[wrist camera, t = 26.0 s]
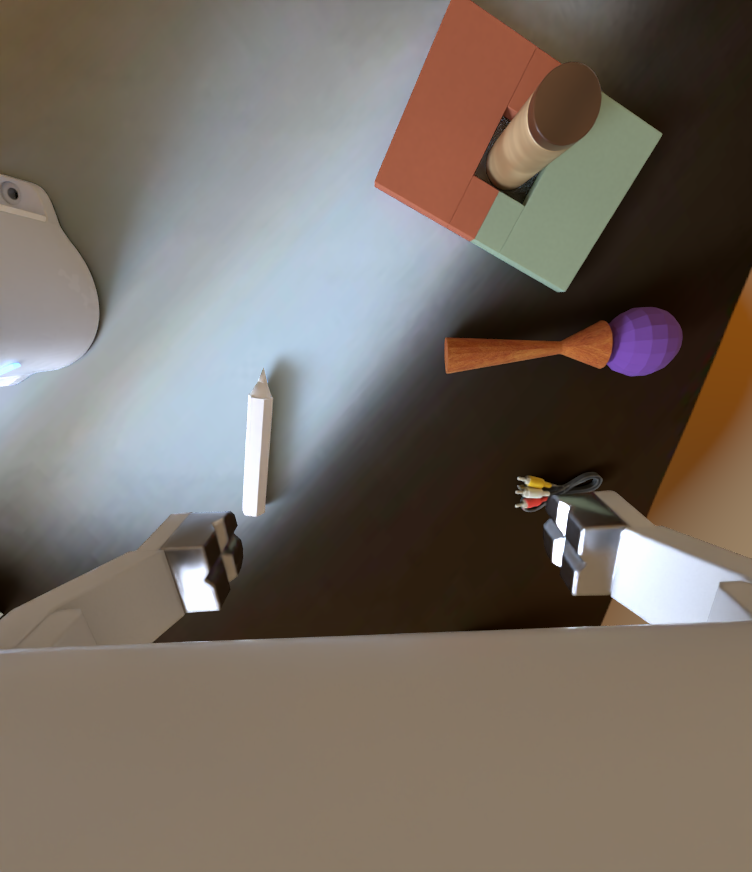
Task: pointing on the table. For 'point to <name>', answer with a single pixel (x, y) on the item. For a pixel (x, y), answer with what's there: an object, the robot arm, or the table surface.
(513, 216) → the sage pad
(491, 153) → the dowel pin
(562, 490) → the composite cable
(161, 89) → the table surface
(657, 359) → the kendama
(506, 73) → the terracotta pad
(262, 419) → the white pencil
